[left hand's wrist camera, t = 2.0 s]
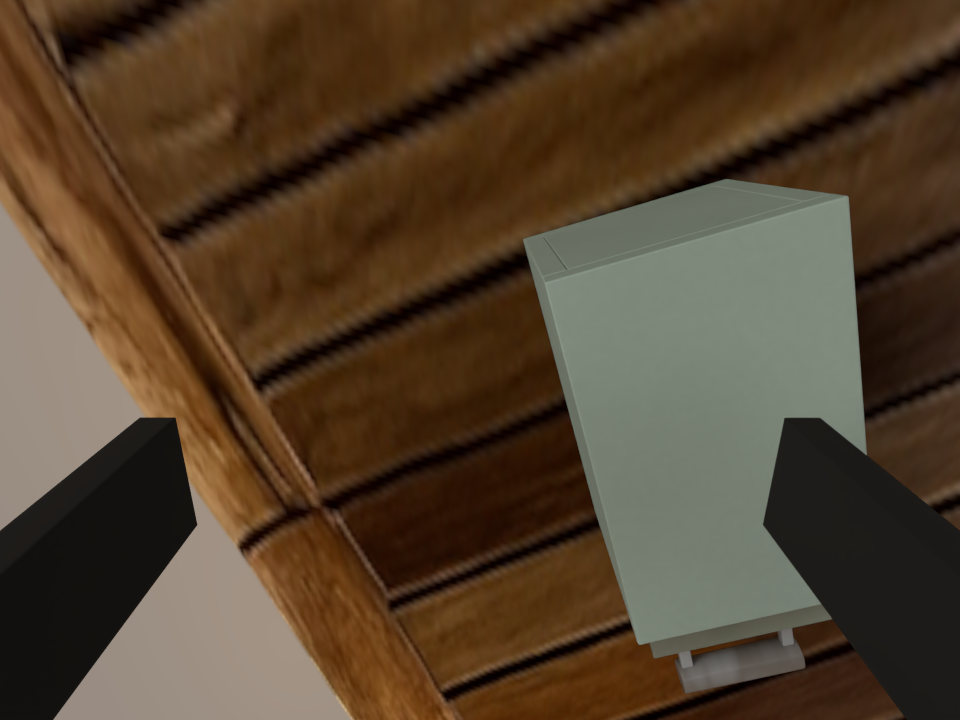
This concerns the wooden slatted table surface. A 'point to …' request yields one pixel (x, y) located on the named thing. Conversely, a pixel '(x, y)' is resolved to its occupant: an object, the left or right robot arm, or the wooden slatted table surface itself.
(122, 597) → the left robot arm
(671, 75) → the wooden slatted table surface
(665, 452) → the cabinet
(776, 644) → the drawer
